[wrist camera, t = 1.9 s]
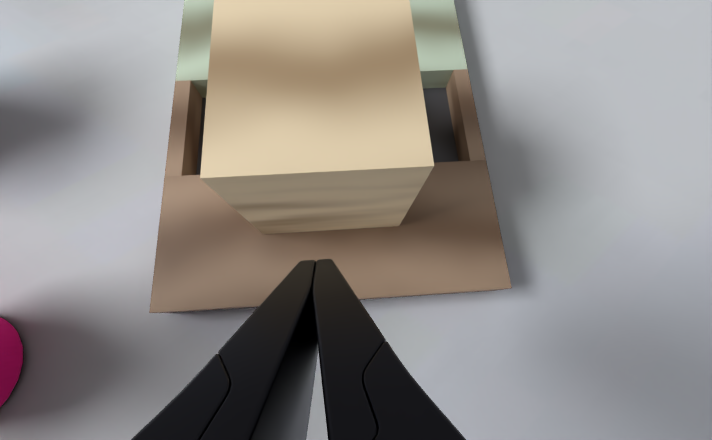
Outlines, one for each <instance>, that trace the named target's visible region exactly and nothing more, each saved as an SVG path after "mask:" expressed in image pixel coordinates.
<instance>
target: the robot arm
mask: <svg viewBox="0 0 712 440" xmlns="http://www.w3.org/2000/svg"><path fill="white" fill-rule="evenodd" d="M318 350H319V359H320V368H321V377H322V387H323V396H324V405H325V414H326V423H327V432H328V440H466V439H465V438H464V437H463V435H462V434H461V433H460V432H459V431H458V430H457V429H456V427H455V426H454V425H453V424H452V423H451V422H450V421H449V419H448V418H447V417H446V416H445V415H444V414H443V413H442V411H441V410H440V409H439V408H438V407H437V406H436V405H435V403H434V402H433V401H432V400H431V399H430V398H429V397H428V395H427V394H426V393H425V392H424V391H423V389H422V388H421V387H420V386H419V385H418V383H417V382H416V381H415V380H414V378H413V377H412V376H411V375H410V374H409V372H408V371H407V369H406V368H405V367H404V365H403V364H402V363H401V361H400V360H399V358H398V357H397V356H396V354H395V353H394V351H393V350H392V348H391V347H390V345H389V344H388V342H386V340H385V338H384V336H383V335H382V333H381V332H380V330H379V329H378V327H377V326H376V324H375V323H374V321H373V320H372V318H371V317H370V315H369V314H368V312H367V311H366V309H365V308H364V306H363V305H362V303H361V302H360V300H359V299H358V297H357V296H356V294H355V293H354V291H353V290H352V288H351V287H350V285H349V284H348V282H347V281H346V279H345V278H344V276H343V275H342V273H341V272H340V270H339V269H338V267H337V266H336V264H335V263H334V261H333V260H332V259H319V260H317V261H315V260H302V261H300V262H298V264H297V265H296V266H295V267H294V268H293V269H292V270H291V271H290V272H289V274H288V275H287V276H286V277H285V278H284V279H283V280H282V281H281V282H280V284H279V285H278V286H277V287H276V288H275V289H274V290H273V291H272V292H271V294H270V295H269V296H268V297H267V298H266V299H265V300H264V301H263V303H262V304H261V305H260V306H259V307H258V308H257V309H256V310H255V311H254V313H253V314H252V315H251V316H250V317H249V318H248V319H247V320H246V321H245V323H244V324H243V325H242V326H241V327H240V328H239V329H238V330H237V331H236V333H235V334H234V335H233V336H232V337H231V338H230V339H229V340H228V341H227V343H226V344H225V345H224V346H223V347H222V348H221V349H220V350H219V352H218V353H219V354H216V355H215V356H214V357H213V358H212V359H211V360H210V361H209V362H208V364H207V365H206V366H205V367H204V368H203V369H202V370H201V371H200V372H199V373H198V374H197V375H196V376H195V378H194V379H193V380H192V381H191V382H190V383H189V384H188V385H187V386H186V387H185V388H184V389H183V390H182V391H181V392H180V393H179V394H178V395H177V396H176V397H175V398H174V399H173V400H172V401H171V402H170V403H169V404H168V405H167V406H166V407H165V408H164V409H163V410H162V411H161V412H160V413H159V414H158V415H157V416H156V417H155V418H154V419H152V420H151V421H150V422H149V423H148V424H147V425H146V426H145V427H144V428H143V429H142V430H141V431H140V432H139V433H138V434H137V435H136V436H134V437H133V438H132V439H131V440H306V437H307V429H308V422H309V414H310V407H311V400H312V392H313V385H314V377H315V370H316V362H317V355H318Z"/></svg>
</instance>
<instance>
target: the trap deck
mask: <svg viewBox="0 0 712 440" xmlns="http://www.w3.org/2000/svg"><path fill="white" fill-rule="evenodd" d="M409 1H410V7H411V14H412V21H413V27H414V34H415V41H416V47H417V54H418V61H419V67H420V74H421V81H422V87H423V94H424V101H425V107H426V114H427V121H428V127H429V134H430V141H431V147H432V154H433V161H434V167H433V169H432V171H431V172H430V174H429V176H428V178H427V179H426V181H425V183H424V184H423V186H422V188H421V189H420V191H419V193H418V195H417V196H416V198H415V200H414V201H413V203H412V205H411V207H410V208H409V210H408V212H407V213H406V215H405V217H404V218H403V220H402V222H401V224H400V225H399V226H393V227H376V228H359V229H342V230H325V231H308V232H292V233H275V234H262V233H261V232H260V231H259V230H258V229H256V228H255V227H254V226H253V225H252V224H251V223H250V222H249V221H247V220H246V219H245V218H244V217H243V216H242V215H241V214H240V213H238V212H237V211H236V210H235V209H234V208H233V207H232V206H231V205H230V204H228V203H227V202H226V201H225V200H224V199H223V198H222V197H221V196H219V195H218V194H217V193H216V192H215V191H214V190H213V189H212V188H210V187H209V186H208V185H207V184H206V183H205V182H204V181H203V180H201V179H200V172H201V160H202V147H203V134H204V121H205V108H206V95H207V83H208V70H209V57H210V44H211V31H212V19H213V6H214V0H184V9H183V18H182V27H181V36H180V44H179V53H178V62H177V71H176V80H175V89H174V98H173V107H172V116H171V125H170V133H169V142H168V151H167V160H166V169H165V178H164V187H163V196H162V205H161V214H160V223H159V231H158V240H157V249H156V258H155V267H154V276H153V285H152V294H151V303H150V312H149V313H172V312H187V311H201V310H216V309H230V308H245V307H259V306H260V305H261V304H262V303H263V301H264V300H265V299H266V298H267V297H268V296H269V295H270V294H271V292H272V291H273V290H274V289H275V288H276V287H277V286H278V285H279V284H280V282H281V281H282V280H283V279H284V278H285V277H286V276H287V275H288V274H289V272H290V271H291V270H292V269H293V268H294V267H295V266H296V265H297V264H298V262H300V261H302V260H315V261H317V260H319V259H332V260H333V261H334V263H335V264H336V266H337V267H338V269H339V270H340V272H341V273H342V275H343V276H344V278H345V279H346V281H347V282H348V284H349V285H350V287H351V288H352V290H353V291H354V293H355V294H356V296H357V297H358V299H359V300H362V299H377V298H391V297H406V296H421V295H435V294H450V293H465V292H479V291H494V290H502V289H509V288H512V287H511V282H510V277H509V272H508V267H507V262H506V257H505V253H504V248H503V243H502V238H501V233H500V228H499V223H498V218H497V213H496V208H495V203H494V198H493V193H492V188H491V183H490V178H489V173H488V168H487V163H486V158H485V153H484V148H483V143H482V138H481V133H480V128H479V123H478V118H477V113H476V108H475V104H474V99H473V94H472V89H471V84H470V79H469V74H468V69H467V64H466V59H465V54H464V49H463V44H462V39H461V34H460V29H459V24H458V19H457V14H456V9H455V4H454V0H409Z"/></svg>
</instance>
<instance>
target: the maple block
mask: <svg viewBox="0 0 712 440" xmlns="http://www.w3.org/2000/svg"><path fill="white" fill-rule="evenodd" d="M433 167H434V161H433V154H432V147H431V141H430V134H429V127H428V121H427V114H426V107H425V101H424V94H423V87H422V81H421V74H420V67H419V61H418V54H417V47H416V41H415V34H414V27H413V21H412V14H411V7H410V1H409V0H214V6H213V19H212V31H211V44H210V57H209V70H208V83H207V95H206V108H205V121H204V134H203V147H202V160H201V172H200V179H201V180H203V181H204V182H205V183H206V184H207V185H208V186H209V187H210V188H212V189H213V190H214V191H215V192H216V193H217V194H218V195H219V196H221V197H222V198H223V199H224V200H225V201H226V202H227V203H228V204H230V205H231V206H232V207H233V208H234V209H235V210H236V211H237V212H238V213H240V214H241V215H242V216H243V217H244V218H245V219H246V220H247V221H249V222H250V223H251V224H252V225H253V226H254V227H255V228H256V229H258V230H259V231H260V232H261V233H262V234H275V233H292V232H308V231H325V230H342V229H359V228H376V227H393V226H399V225H400V224H401V222H402V220H403V218H404V217H405V215H406V213H407V212H408V210H409V208H410V207H411V205H412V203H413V201H414V200H415V198H416V196H417V195H418V193H419V191H420V189H421V188H422V186H423V184H424V183H425V181H426V179H427V178H428V176H429V174H430V172H431V171H432V169H433Z"/></svg>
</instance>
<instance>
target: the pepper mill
mask: <svg viewBox="0 0 712 440" xmlns="http://www.w3.org/2000/svg"><path fill="white" fill-rule="evenodd" d="M22 364H23V346H22V343H21V340H20V337H19V334H18V332H17V331H16V330H15V328H14V327H13V326H12V325H11V324H10V323H9V322H8V321H6V320H5V319H3V318H0V407H1V406H2V405H3V403H4V402H5V401H6V400H7V399H8V397H9V396H10V394H11V392H12V390H13V388H14V386H15V385H16V383H17V381H18V379H19V375H20V371H21V368H22Z"/></svg>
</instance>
